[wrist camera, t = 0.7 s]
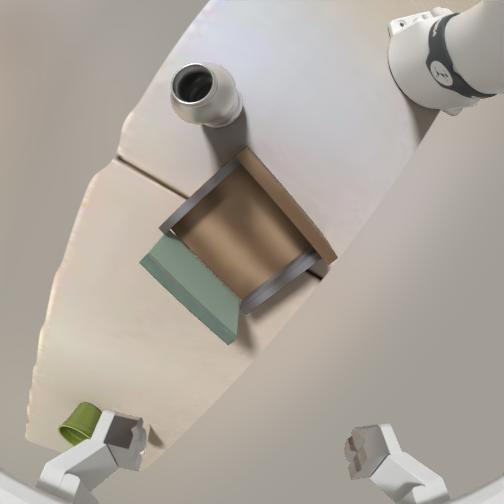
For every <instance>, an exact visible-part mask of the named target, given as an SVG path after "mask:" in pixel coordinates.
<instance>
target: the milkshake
mask: <svg viewBox="0 0 504 504" xmlns="http://www.w3.org/2000/svg"><path fill="white" fill-rule="evenodd" d="M142 427H143V428H144V429H145V430H146V436H147V438H146V446H145V449H144V451H142V452H141V453H140V454H143V453H145V452H146V448H147V442H148V436H149V431H150V425H149V424H148V423H147V422H144V421H143V426H142Z"/></svg>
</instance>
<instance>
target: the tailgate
mask: <svg viewBox="0 0 504 504" xmlns="http://www.w3.org/2000/svg"><path fill="white" fill-rule="evenodd" d="M139 263H140V264H141V265H142V266H143V267H144V268H145V269H146V270H147V271H148V272H149V273H150V274H151V275H152V276H153V277H154V278H155V279H156V280H157V281H158V282H159V283H160V284H161V285H162V286H163V287H164V288H166V289H167V290H168V291H169V292H170V293H171V294H172V295H173V296H174V297H175V298H176V299H177V300H178V301H179V302H180V303H181V304H182V305H184V306H185V307H186V308H187V309H188V310H189V311H190V312H191V313H192V314H193V315H194V316H196V317H197V318H198V319H199V320H200V321H201V322H202V323H203V324H205V325H206V326H207V327H208V328H209V329H210V330H211V331H212V332H214V333H215V334H216V335H217V336H218V337H219V338H220V339H222V340H223V341H224V342H225V343H226V344H227V345H229V344H230V343H232V342H233V341H235V340H236V339H237V328H238V316H239V305H240V300H239V299H238V298H237V297H236V296H235V295H234V294H233V293H232V292H231V291H230V290H229V289H228V288H227V287H226V286H225V285H224V284H223V283H221V282H220V281H219V280H218V279H217V278H216V277H215V276H214V275H213V274H212V273H211V272H210V271H209V270H208V269H207V268H206V267H205V266H204V265H203V264H202V263H201V262H200V261H199V260H198V259H197V258H196V257H195V256H194V255H193V254H192V253H191V251H190V250H189V249H188V248H187V247H186V246H185V245H184V244H183V243H182V242H181V241H180V240H179V239H178V238H177V237H176V236H175V235H174V234H173V233H172V232H171V231H170V230H168V231H167V232H166V233H165V234H163V235H162V236H161V238H160V239H159V240H158V241H157V242H156V243H155V244H154V246H153V247H152V248H151V249H150V250H149V252H148V253H147V254H146V255H145V256H144V257H143V259H142V260H141V261H140V262H139Z"/></svg>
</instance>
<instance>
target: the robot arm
mask: <svg viewBox="0 0 504 504" xmlns="http://www.w3.org/2000/svg"><path fill="white" fill-rule="evenodd" d="M400 24H401V25H402V26H403V27H402V26H400ZM388 28H389V33H390V37H391V40H390V45H389V51H388V59H389V65H390V69H391V72H392V75H393V77H394V79H395V81H396V82H397V84H398V86H399V87H400V88H401V90H402V91H403V92H404V93H405V94H406V95H407V96H408V97H409V98H410V99H411V100H413V101H414V102H416V103H417V104H419V105H421V106H423V107H426V108H431V109H440V110H442V111H444V112H446V113H447V114H449V115H451V116H454V115H458V114H459V113H460V111H461V110H462V108H464V107H471V106H475V105H477V102H478V101H479V99H484V98H488V97H492V96H495V95H497V94H503V93H504V0H483V1H482V2H480V3H478V4H477V5H475V6H474V7H472V8H470V9H468V10H466V11H464V12H462V13H453V12H451V11H450V10H448V9H446V8H443V9H441V8H440V7H436V8H434V9H431V10H430V11H428V12H423V13H419V14H415V15H411V16H407V17H403V18H399V19H395V20H392V21H390V22H389V24H388ZM142 426H143V420H142V418H140V417H136V416H131V415H127V414H123V413H118V412H115V411H111V410H107V409H105V410H104V411H103V412H102V414H101V416H100V419H99V421H98V423H97V425H96V428H95V430H94V432H93V435H92V437H91V439H86V440H84V441H82V442H81V443H79V444H78V445H76V446H74V447H73V448H71V449H69V450H68V451H66V452H64V453H63V454H61V455H59V456H58V457H56V458H54V459H52V460H51V461H49V462H47V463H46V465H45V467H44V469H43V471H42V473H41V476H40V478H39V480H38V482H37V485H36V487H35V486H32V485H30V484H29V483H27V482H25V481H23V480H21V479H19V478H17V477H16V476H14V475H12V474H10V473H9V472H7V471H5V470H4V469H2V468H0V504H99V502H98V500H97V499H96V498H95V497H94V496H93V494H92V493H91V491H92V490H93V489H94V488H95V487H97V486H98V485H99V484H100V483H102V482H103V481H104V480H105V479H106V478H107V477H109V476H110V475H111V474H112V473H113V472H115V471H116V470H117V469H118V467H120V468H125V469H129V470H134V471H139V468H140V464H141V460H142V457H141V455H140V453H141V452H142V451H144V449H145V446H146V438H147V436H146V430H145V429H144V428H143V427H142ZM351 434H352V436H351V437H350V438H348V439H347V441H346V443H345V456H346V459H347V460H348V461H349V462H351V463H350V465H349V467H348V469H349V472H350V476H351V479H352V480H353V479H360V478H367V477H370V479H371V480H372V481H373V482H375V484H376V485H377V486H379V488H381V489H382V490H383V491H384V492H385V493H386V494H387V495H388V496H389V497H390V498H391V499H392V500H393V501H394V502H395V503H396V504H504V474H502V475H500V476H498V477H497V478H495V479H493V480H491V481H489V482H487V483H485V484H484V485H482V486H480V487H478V488H476V489H474V490H472V491H469V492H467V493H465V494H463V495H461V496H459V497H456V498H454V499H452V500H451V499H450V496H449V494H448V491H447V489H446V486H445V484H444V482H443V480H442V477H440V476H439V475H437V474H436V473H434V472H433V471H431V470H430V469H428V468H427V467H425V466H424V465H423V464H421V463H420V462H418V461H417V460H415V459H414V458H412V457H411V456H410V455H408V454H407V453H406V452H402V451H401V449H400V446H399V444H398V441H397V439H396V437H395V434H394V432H393V430H392V427H391V425H390V424H389V423H386V424H380V425H371V426H363V427H355V428H354V429H353V430H352V432H351Z"/></svg>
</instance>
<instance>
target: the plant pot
mask: <svg viewBox="0 0 504 504" xmlns="http://www.w3.org/2000/svg"><path fill="white" fill-rule="evenodd" d="M101 414H102V413H101V411H99V410H98V409H97V408H96V407H95V406H93V405H92V404H89V403H85V402H84V403H80V405H79V406H78V407H77V408H76V409H75V411H74V412H73V413H72V414H71V416H70V417H69V418H68V419H67V420H66V421H65V422H64V423H63V424H62V425H59V426H58V432H59V433H60V435H61V436H62V437H63V438H64V439H65V440H66V441H67V442H68V443H70V444H71V445H73V446H76V445H78V444H79V443H81V442H82V441H84V440H86V439H91V437H92V435H93V432H94V430H95V428H96V425H97V423H98V421H99V419H100V416H101Z"/></svg>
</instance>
